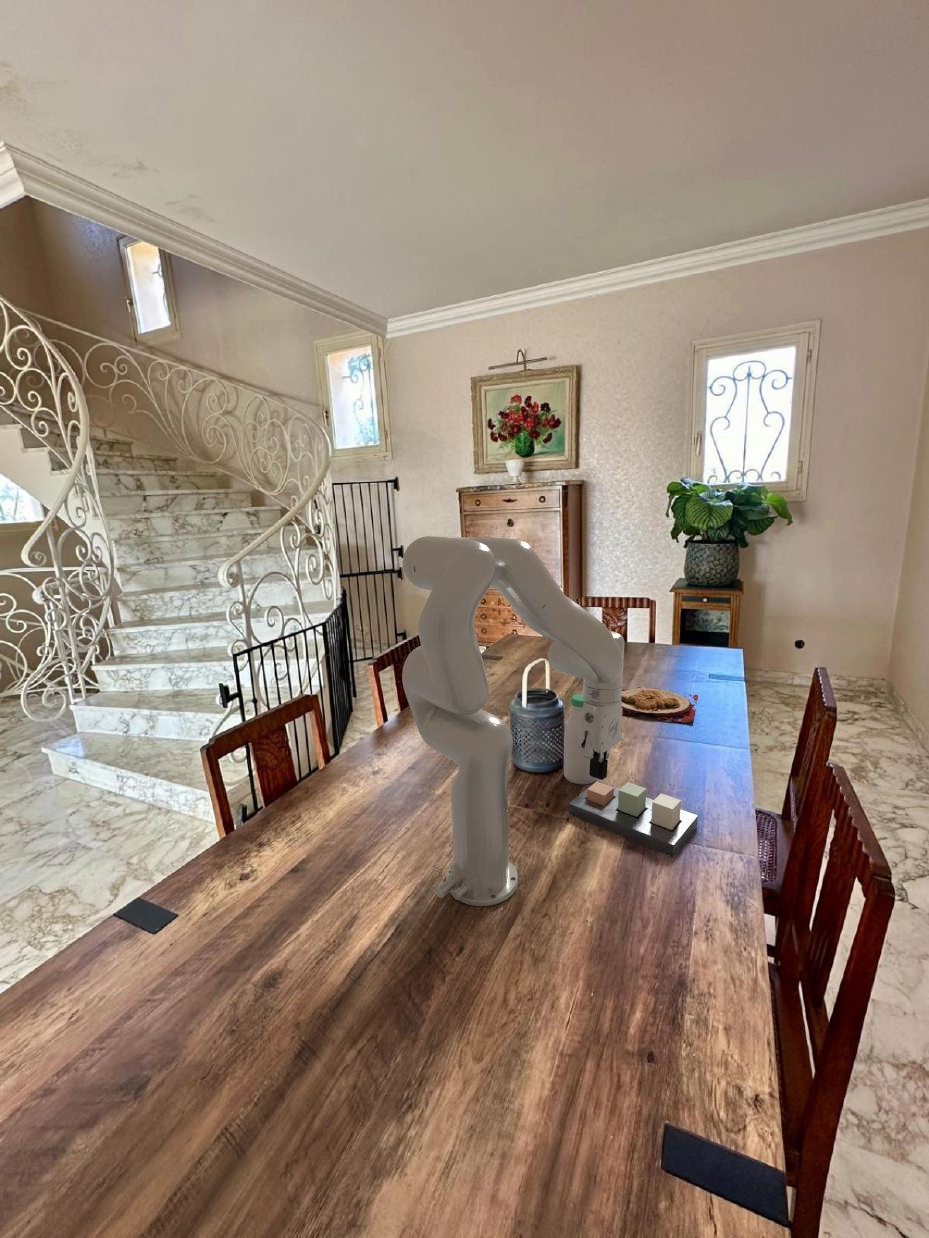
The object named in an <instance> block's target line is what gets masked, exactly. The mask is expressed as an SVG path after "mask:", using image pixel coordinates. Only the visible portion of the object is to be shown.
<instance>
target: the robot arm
mask: <svg viewBox="0 0 929 1238" xmlns="http://www.w3.org/2000/svg"><path fill="white" fill-rule="evenodd" d="M402 569H403V573H404V574H405V577H406V579H407V580H408V581H409V582H410V583H411V584H413V586H415V587H417V588H419V589H423V590H426V591H430V593H429V595H428V597H427V599H426V601H425V602H424V603H425V604H424V606H423V608H422V610H421V612H420V615H419V619H418V625H417V627H418V628H417V629H418V630H417V631H418V638H419V642H420V646H417V647H415V649H413V650H412V651H410V653H409V654H408V656H407V657H406V659H405V661H404V664H403V667H402V674H401V675H402V676H401V677H402V679H401V680H402V685H403V690H404V693H405V697H406V699H407V702H408V705H409V708H410V711H411V713H412V717H413V720H414V723H415V726H416V728H417V730H418V733H419V735H420V736H421V738H422V740H423V741H424V743H425V744H426V745H427V746H428V747H430V748H432V749H433V750H434V751H436V752H438V753H440V754H442V755H443V756H445V757H447V758H448V759H450V760H451V761H453V762H455V764H456V765H457V767H458V768H457V769H458V770H457V774H456V775H455V777H454V779H453V781H452V782H451V786H450V787H451V788H450V804H451V821H452V823H451V824H452V840H453V842H452V843H453V844H452V845H453V863H451V865H450V866H449V867H448V869H447V871H446V874H445V881H443V882H441V883H440V884H438V885H437V886H436V887H435V889H434V890H435V894H436V895H437V897H438V898H440V899H443V898H445V897H446V896H447V895H448V894H450V895H451V896H453V899H455V900H456V901H457V900H458V901H459V902H461V903H464V904H467V905H470V906H474V907H490V906H494V905H497V904H500V903H502V902H504V901H506V900H508V899H509V898H510V897H511V896H512V895H513V894H514V893H515V891H516V890H517V888H518V886H519V885H518V884H519V873H518V870H517V868H516V867H515V866H514V865H515V864H513V863H512V862H511V861H510V859H509V857H510V856H509V855H510V854H509V850H510V849H509V846H510V845H509V807H508V806H509V804H508V802H509V801H508V778H509V767H510V763H511V762H510V761H511V756H512V752H513V747H514V746H513V743H514V742H513V741H514V737H513V734H512V731H511V729H510V727H509V726H508V725H507V723H505V721H503V720H502V719H501V718H500V717H498V716H496V715H495V714H492V713H490V712H488V711H487V710H483V708H485V706H486V704H487V702H488V700H489V695H490V684H489V679H488V678H489V677H488V675H487V670H486V666H485V664H484V660H483V657H482V653H481V649H480V645H479V640H478V637H477V633H476V626H475V621H476V615H477V612H478V609H479V607H480V604H481V602H482V601H483V598H484V597H485V595H486V594H487V592H488V590H489V589H495V590H497V591H498V592H500V594H501V595H502V596H503V597H504V599H505V600H506V601H507V602H508V604H509V605H510V606H511V608H512V609H513V610H514V611H515V613H516V614H517V615H518V616H519V618H520V619H521V621H522V622H523V623H524V624H525V626H526V627H528V628H529V629H531V630H532V631H534V632H535V633H537V634H539V635H540V636H542V637H545V638H546V639H549V640H552V643H551V644H550V645H549V648H548V652H547V657H548V661H549V664H550V665H551V666H552V667H553V669H555V670H556V671H558V672H559V673H563V674H565V675H569V676H573V677H576V678H580V679H583V682H582V683H583V686H582V687H583V688H582V690H583V691H582V694H583V700H584V704H583V710H582V717H581V726H580V746H581V748H585V750H584V757H586V758H589V759H590V771H589V775H590V776H592V777H594V778H597V779H596V780H599V781H603V780H605V779H606V778H607V776H608V765H609V762H608V761H609V760H608V759H609V757H610V752H611V751H610V750H611V749H612V748H613V747H614V746H616V745H617V744H619V743H620V742H621V741H622V739H623V723H624V722H623V721H624V720H623V716H624V715H622V701H621V695H622V690H623V675H624V672H623V671H624V657H625V656H624V655H625V639H624V637H623V635H622V634H620V633H618V632H616V631H611V630H609V628H607V626H606V625H605V624H604V623H603V622H602V621H601V620H599V619H598V618H597V617H596V616H594V615H593V614H591V613H590V612H588V610H586V609H584V607H582V606H581V605H579V604H578V603H577V602H575V601H573V599H571V598H569V597H568V596H567V595H566V594H565V593H564V591H563V590H562V589H561V587H560V586H559V584H558V583H557V581H556V580H555V579H554V576H552V574H551V573H550V571H549V570H548V568H547V566H546V565H545V564H544V562H543V560H541V558H540V556H539V555H538V554H537V552H536V551H535V549H534V548H533V547H532V546H531V545H530V544H529V543H527V542H525V541H523V540H521V539H517V538H516V539H515V538H505V537H504V538H503V537H502V538H501V537H490V536H489V537H488V536H473V537H466V536H465V537H462V536H461V537H459V536H457V537H456V536H454V537H453V536H432V535H430V536H428V535H426V536H421V537H419V538H416V539H415V540H413V541H412V542H411V543H410V544H409V545H408V546H407V547H406V550H405V551H404V554H403V557H402Z"/></svg>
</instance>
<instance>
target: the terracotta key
mask: <svg viewBox="0 0 929 1238" xmlns="http://www.w3.org/2000/svg"><path fill="white" fill-rule="evenodd" d="M595 782H596V781H595ZM595 782H593V783H594V784H593V783H592V784H593V785H592V784H591V785H592V786H591V785H590V786H591V787H590V786H589V788H588V787H587V788H588V789H587V788H586V789H587V800H589V801H592V802H595V803H597V804H600V805H603V806H606V805H608V804H609V803H610V802H611V801H612V800H613V799H614V787H611V786H608V785H605V784H602V783H600V782H596V783H595Z"/></svg>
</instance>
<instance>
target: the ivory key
mask: <svg viewBox="0 0 929 1238" xmlns="http://www.w3.org/2000/svg"><path fill="white" fill-rule="evenodd" d="M653 800H654V801H653V802H652V818H651V822H652V823H654V824H657V825H656V826H659V827H661V828H665V829H666V830H669V831H670V830H671V831H672V830H674V829H673V828H674V827H675V826H676V824H677V823H678V822H679V821H680V809H681V810H682V808H681V806H682V805H681V804H682V800H681V799H679V798H675V797H673V796H670V795H667V794H664V793H659V795H657V797H655V798H654V799H653Z"/></svg>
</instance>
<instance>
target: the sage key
mask: <svg viewBox="0 0 929 1238" xmlns="http://www.w3.org/2000/svg"><path fill="white" fill-rule="evenodd" d="M619 788H620V789H619V792H618V810H620V811H623V812H624V814H627V815H628V814H629V815H630V816H632V817H633V816H634V817H635V818H637V817H639V816H638V815H639V814H640V813H641V812H642V811H643V810H644V809H645V806H646V797H647V788H646V787H644V786H641V785H638V784H635V783H631V782H628V781H627V782H626V783H625V784H623V785H622V787H619Z"/></svg>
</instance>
